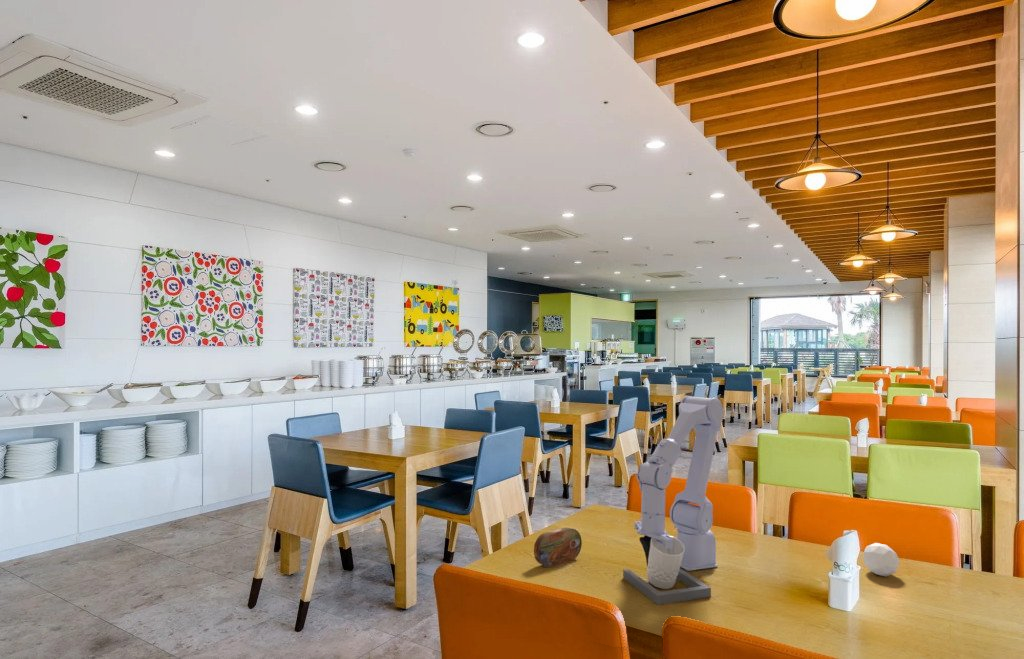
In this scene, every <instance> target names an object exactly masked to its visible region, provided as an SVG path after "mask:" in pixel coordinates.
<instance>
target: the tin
mask: <svg viewBox="0 0 1024 659" xmlns="http://www.w3.org/2000/svg"><path fill="white" fill-rule="evenodd" d="M582 540H583V539H582V536H581V534H580V532H579V531H578V530H577V529H576V528H570V527H562V528H557V529H555V530H551V531H547V532H543V533H542V534H540V535H539V536H538V537H537V538H536V540H535V542H534V546H533V554H534V559H535V561H537V563H538V564H540V565H542V566H544V567H546V568H553V567H556V566H560V565H562V564H565V563H568V562H571V561H574V560H575V559H577V557H578V556H579V555H580V553H581V551H582V545H583V541H582Z"/></svg>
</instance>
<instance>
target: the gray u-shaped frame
mask: <svg viewBox="0 0 1024 659" xmlns="http://www.w3.org/2000/svg"><path fill="white" fill-rule="evenodd" d="M622 571H623V572H622V573H623V574H622V578H623V579H625V580H626V581H627V582H628V583H629V584H630V585H632V586H633V587H634V588H635V589H637V590H638V591H639V592H641V593H642V594H643V595H644V596H646V597H647V598H649V600H651V601H652V602H653V603H655V604H656V605H657V606H659V605H666V604H665V603H667V604H671V603H670V602H673V603H679V602H678V601H680V602H685V601H691V600H698V599H704V598H711V597H712V588H711V587H710V586H709V585H707V584H705V582H702V581H701V580H699V579H698V578H696V577H695V576H693V575H691V574H690V573H689V572H687V571H685V569H683V568H680V569H679V573H678V576H677V578H676V580H678V581H680V582H681V583H683V584H684V585H686V586H687V587H685V588H679V589H671V590H666V591H659V590H658V589H656V587H655V586H652V584H651V583H649V582H647V581H646V580H644V579H643V578H642V577H640V576H639V575H637V574H636V573H635V572H634V571H632V570H631V569H629V568H627V569H626V568H625V569H623V570H622Z"/></svg>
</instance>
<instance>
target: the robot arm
mask: <svg viewBox="0 0 1024 659" xmlns="http://www.w3.org/2000/svg"><path fill="white" fill-rule="evenodd" d="M724 411H725V410H724V408H723V405H722V403H721V400H720V399H719V398H717V397H699V396H692V395H685V396H683V397H682V399H681V400H680V403H679V404H678V417H677V419H676V420H675V423H674V425H673V426H672V429H671V431H670V433H669V435H668V437H667V438H663V439H661V440H660V441H659V443H658V444H657V446H656V448H655V450H654V451H653V452H652V454H651V455H650V457H649V459H648V460H647V461H645V462H643V463H642V464H640V466H639V467H638V468H637V473H636V480H637V482H638V483H639V484H638V485H639V490H640V492H641V508H640V509H641V510H640V512H641V513H640V514H641V515H640V517H641V518H640V520H638V521H637V520H636V521H634V528H633V529H634V530H635V531H636V533H637V534H638V535H640V537H639V543H640V544H641V546H642V549H643V551H644V556H645V559H646V566H647V568H648V557H649V550H650V543H651V538H652V537H653V538H654V539H657V541H658V542H660V543H661V544H663V545H664V547H665V548H670V547H673V539H672V538H670V536H671V535H670V536H669V534H668V532H667V531H666V488H667V487H668V486H669V484H670V483H671V480H672V473H673V470H674V469H673V467H674V465H675V464H676V462H677V460H678V459H679V457H680V455H681V454H682V449H681V445H682V443H683V441H685V439H686V438H687V437H688V435H689V434H690V432H691V431H692V430H693V429H694V431H695V439H694V442H693V448H692V452H691V456H690V457H691V458H690V463H689V468H688V473H687V478H686V481H685V482H686V483H685V487H684V490H682V491H680V492H679V493H677V494H675V497H674V501H673V503H672V505H671V507H670V509H669V518H670V521H671V523H672V524H673V525H674V529H676V538H677V539H678V540H679V541H681V542H682V543H683V545H684V547H685V551H684V554H683V558H682V562H681V566H680V568H681V569H683V570H684V571H685V570H686V572H687V571H688V572H690V571H697V570H703V569H710V568H718V566H719V564H717V557H716V556H717V554H716V552H717V545H716V544H717V542H716V537H715V535H714V533H713V531H712V530H711V528H712V526H713V522H714V516H713V509H714V505H713V503H712V502H711V501H710V500H709V499H708V497H707V495H706V492H707V487H708V482H709V478H710V473H711V472H710V471H711V467H712V461H713V456H714V452H715V446H716V442H717V437H718V432H719V431H721V426H722V423H723V422H722V421H723V417H724ZM664 534H665V535H664Z"/></svg>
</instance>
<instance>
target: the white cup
mask: <svg viewBox="0 0 1024 659" xmlns="http://www.w3.org/2000/svg"><path fill="white" fill-rule="evenodd" d="M664 535H665V534H664ZM668 535H669V534H668ZM669 536H670V538H672V539H673V547H670V548H665V547H664V545H663V544H661V543H660V542H658V541H657V539H654V538H653V537H652V538H651V543H650V550H649V557H648V567H647V570H646V579H647V580H648V583H649V584H650V585H651V586H652V585H653V587H654V588H659V589H661V590H670V589H672V588H674V586H675V585H676V582H677V576H678V573H679V569H681V567H680V566H681V562H682V558H683V554H684V551H685V547H684V545H683V543H682V542H681V541H679V540H678V539H677V537H675V536H673V535H669Z"/></svg>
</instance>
